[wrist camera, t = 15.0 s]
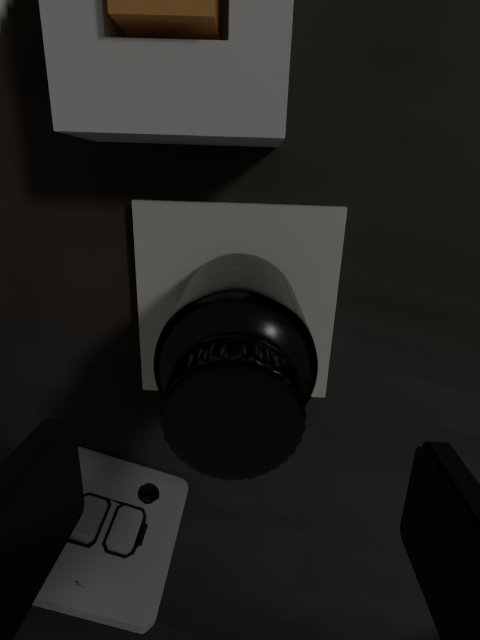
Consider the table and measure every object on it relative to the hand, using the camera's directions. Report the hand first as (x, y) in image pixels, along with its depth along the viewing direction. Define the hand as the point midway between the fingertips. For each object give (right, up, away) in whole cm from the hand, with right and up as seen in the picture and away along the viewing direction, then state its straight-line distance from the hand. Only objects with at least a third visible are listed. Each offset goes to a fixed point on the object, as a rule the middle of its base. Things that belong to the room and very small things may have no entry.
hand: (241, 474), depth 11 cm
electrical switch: (-9, -8, +19) cm, 23 cm away
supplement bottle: (0, +5, +13) cm, 14 cm away
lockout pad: (0, +5, +14) cm, 15 cm away
